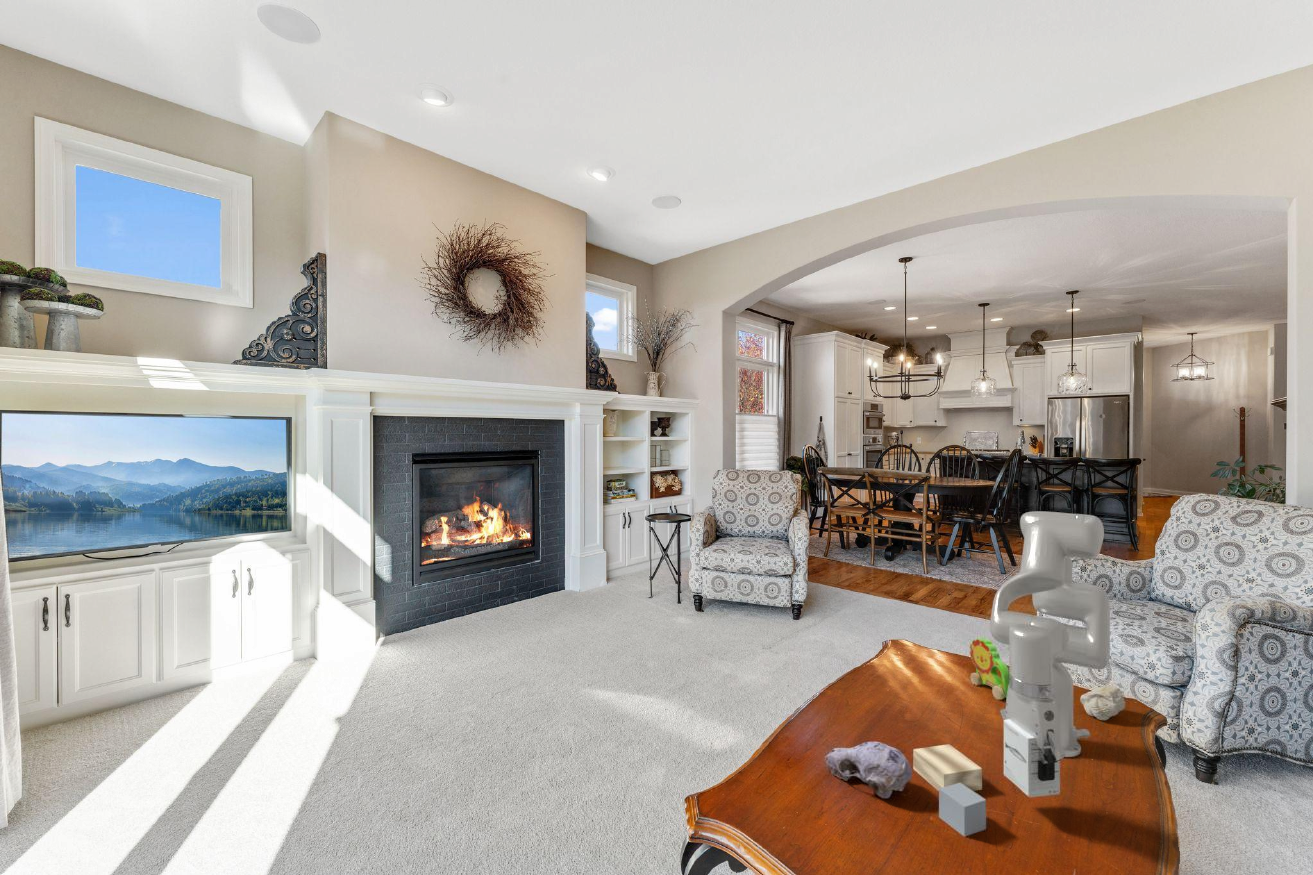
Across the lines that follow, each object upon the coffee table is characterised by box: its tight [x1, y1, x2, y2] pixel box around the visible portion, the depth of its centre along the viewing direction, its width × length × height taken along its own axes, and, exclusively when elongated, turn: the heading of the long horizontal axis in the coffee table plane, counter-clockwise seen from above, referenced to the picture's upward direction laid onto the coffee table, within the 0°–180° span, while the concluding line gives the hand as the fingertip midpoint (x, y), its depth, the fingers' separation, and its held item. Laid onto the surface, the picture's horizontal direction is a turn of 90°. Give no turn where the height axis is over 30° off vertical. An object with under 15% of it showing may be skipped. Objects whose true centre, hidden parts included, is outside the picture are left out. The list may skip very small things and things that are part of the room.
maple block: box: [912, 744, 983, 792], centre depth 127 cm, size 10×10×5 cm
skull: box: [824, 740, 913, 799], centre depth 126 cm, size 19×12×10 cm, turn 38°
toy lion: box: [969, 637, 1009, 701], centre depth 172 cm, size 16×5×15 cm, turn 6°
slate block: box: [938, 783, 987, 838], centre depth 112 cm, size 6×6×6 cm
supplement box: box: [1003, 719, 1061, 798], centre depth 116 cm, size 7×7×13 cm
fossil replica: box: [1079, 686, 1126, 721], centre depth 156 cm, size 12×8×10 cm
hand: (1030, 766), depth 116 cm, fingers closed on supplement box, 7 cm apart
